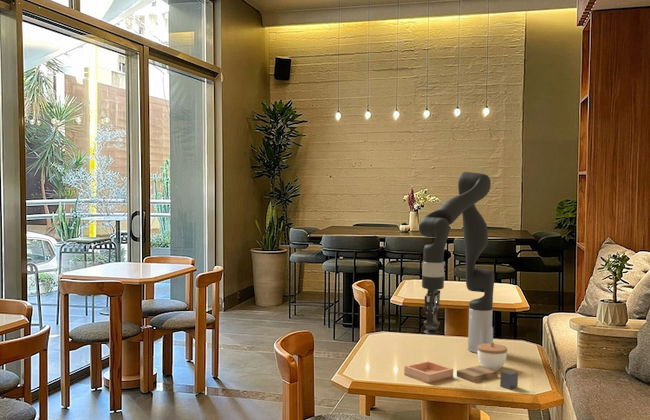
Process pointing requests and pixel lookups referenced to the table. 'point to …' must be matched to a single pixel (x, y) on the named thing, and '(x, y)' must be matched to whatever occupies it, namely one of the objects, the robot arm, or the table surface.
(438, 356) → the table surface
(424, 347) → the table surface
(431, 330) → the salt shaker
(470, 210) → the robot arm
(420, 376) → the tray
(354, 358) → the table surface
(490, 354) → the lidded jar
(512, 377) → the dark gray block
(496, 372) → the bronze block
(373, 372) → the table surface
